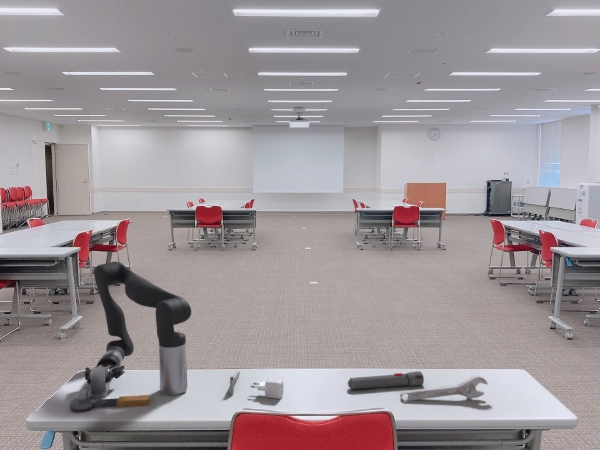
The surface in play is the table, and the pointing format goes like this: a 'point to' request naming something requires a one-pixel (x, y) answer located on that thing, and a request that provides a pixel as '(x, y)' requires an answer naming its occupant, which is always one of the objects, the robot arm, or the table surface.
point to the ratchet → (105, 401)
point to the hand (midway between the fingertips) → (98, 380)
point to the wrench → (448, 390)
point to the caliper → (233, 382)
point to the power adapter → (271, 388)
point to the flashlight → (387, 380)
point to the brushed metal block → (99, 382)
